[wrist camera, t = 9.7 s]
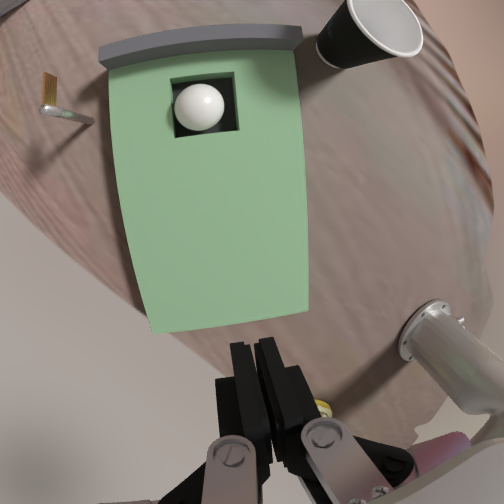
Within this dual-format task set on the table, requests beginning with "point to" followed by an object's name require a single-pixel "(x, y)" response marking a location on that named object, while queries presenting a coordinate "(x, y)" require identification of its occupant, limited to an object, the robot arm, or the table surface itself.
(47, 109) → the flag pin
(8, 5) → the medicine box
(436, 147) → the table surface
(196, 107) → the ball
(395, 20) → the dixie cup
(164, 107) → the mat
